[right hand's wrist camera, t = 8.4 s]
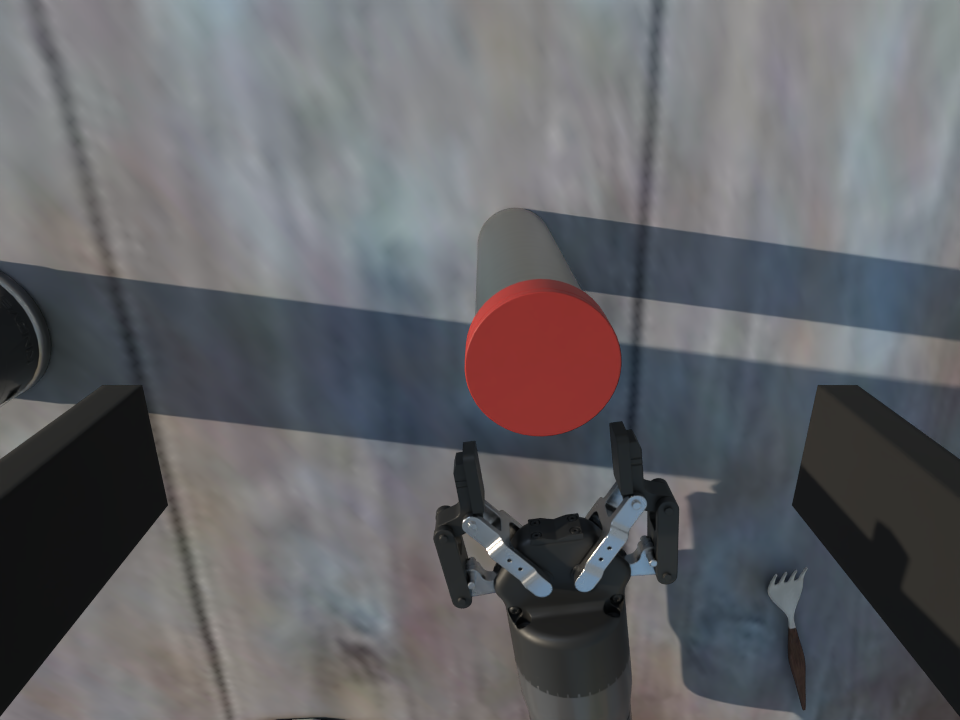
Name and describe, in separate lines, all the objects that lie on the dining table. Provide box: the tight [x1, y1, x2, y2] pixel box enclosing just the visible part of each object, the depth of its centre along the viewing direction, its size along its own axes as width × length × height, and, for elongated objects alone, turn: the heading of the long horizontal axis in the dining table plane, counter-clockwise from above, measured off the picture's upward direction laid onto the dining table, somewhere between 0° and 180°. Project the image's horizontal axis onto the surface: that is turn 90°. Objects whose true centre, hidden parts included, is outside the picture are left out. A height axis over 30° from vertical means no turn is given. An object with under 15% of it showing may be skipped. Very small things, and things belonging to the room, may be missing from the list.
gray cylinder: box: [475, 208, 581, 316], centre depth 29 cm, size 4×4×19 cm
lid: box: [465, 279, 621, 436], centre depth 21 cm, size 5×5×2 cm
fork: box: [768, 567, 808, 710], centre depth 48 cm, size 3×16×2 cm, turn 16°
